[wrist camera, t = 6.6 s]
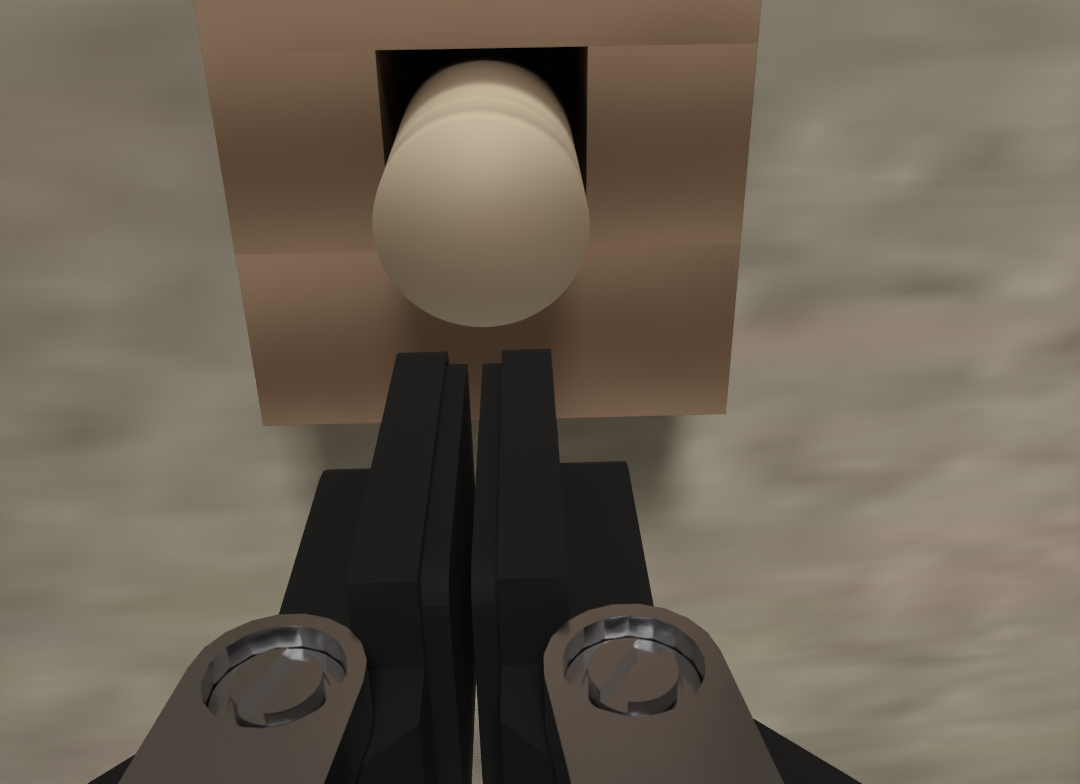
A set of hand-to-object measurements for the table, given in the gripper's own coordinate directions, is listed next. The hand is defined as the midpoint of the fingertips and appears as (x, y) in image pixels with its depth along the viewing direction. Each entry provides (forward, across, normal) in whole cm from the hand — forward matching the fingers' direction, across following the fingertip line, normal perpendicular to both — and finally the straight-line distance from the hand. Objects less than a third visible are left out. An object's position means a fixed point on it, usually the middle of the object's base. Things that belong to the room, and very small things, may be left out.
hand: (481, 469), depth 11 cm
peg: (+14, 0, 0) cm, 14 cm away
